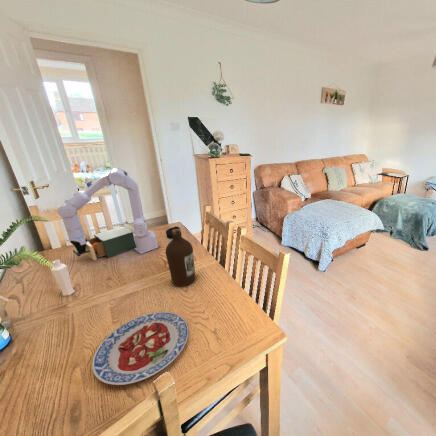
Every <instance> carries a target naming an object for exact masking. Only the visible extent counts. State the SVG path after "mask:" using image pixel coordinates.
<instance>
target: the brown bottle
mask: <svg viewBox="0 0 436 436" xmlns="http://www.w3.org/2000/svg"><path fill="white" fill-rule="evenodd" d="M180 231H181V228H180V229H174V230H172V236H173V239H172V241H171V242H170V243H169V244H168V243H167V245H166V247H165V257H166V260H167V261H166V262H167V265H168V268H169V273H170V277H171V282H172V285H173V286H175V287H179V288H181V287H186V286H189V285H191V284H192V283H194V282H195V280H196V272H195V271H196V266H195V258H194V248H193V245H192V243H191V242H190V241H189V240H187V239H185V238H184V237H183V235H182V231H181V232H180Z"/></svg>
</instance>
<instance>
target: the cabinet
mask: <svg viewBox="0 0 436 436" xmlns="http://www.w3.org/2000/svg"><path fill="white" fill-rule="evenodd" d="M94 237H97V238H98V239H99V240H101V241H102V242H103V244H104V248H105V251H106V254H107V255H105V256H104V257H106V258H107V259H108V258H111V257H115V256H117V255H119V254H122V253H126V252H128V251H131V250H135V249H134V248H137V245H136V241H135V237H134V232H133V231H132V230H130V229H128V228H127V227H125V226H119V227H116V228H112V229H108V230H105V231H102V232H98V233H95V234H93V238H94Z"/></svg>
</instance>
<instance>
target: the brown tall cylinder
mask: <svg viewBox="0 0 436 436" xmlns="http://www.w3.org/2000/svg"><path fill="white" fill-rule="evenodd" d="M174 229H180V230H181V228H180V227H179V226H174V227H170V228H168V229H166V230H165V235H166V242H167V245H168V244H169V243H170V242H171V241H172V239H173V236H172V230H174ZM180 232H181V233H182V231H180Z"/></svg>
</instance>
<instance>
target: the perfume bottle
mask: <svg viewBox="0 0 436 436" xmlns="http://www.w3.org/2000/svg"><path fill="white" fill-rule="evenodd" d="M52 264H53V267H52V268H51V269H50V272H51V274H52V276H53V277H54V280H55V281H56V283H57V285H58V286H59V288H60V291H61V292H62V296H63V297H65V296H70V295H72V294H73V293H75V292H76V291H75V289H74V288H73V284H72V280H71V276H70V272H69V269H68V266H67V265H66V264H64V263H61V260H60V259H56V260H53V261H52ZM54 266H55V267H54Z"/></svg>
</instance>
